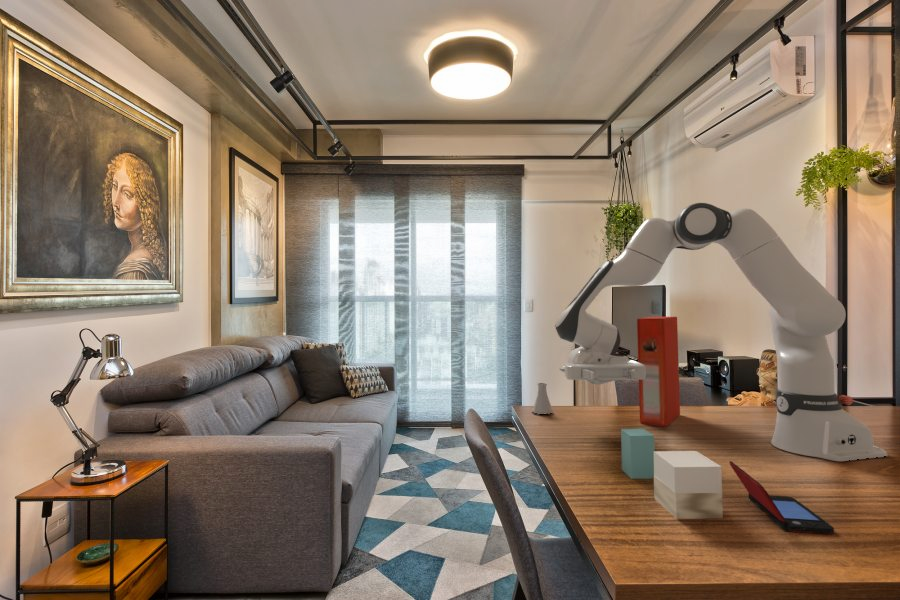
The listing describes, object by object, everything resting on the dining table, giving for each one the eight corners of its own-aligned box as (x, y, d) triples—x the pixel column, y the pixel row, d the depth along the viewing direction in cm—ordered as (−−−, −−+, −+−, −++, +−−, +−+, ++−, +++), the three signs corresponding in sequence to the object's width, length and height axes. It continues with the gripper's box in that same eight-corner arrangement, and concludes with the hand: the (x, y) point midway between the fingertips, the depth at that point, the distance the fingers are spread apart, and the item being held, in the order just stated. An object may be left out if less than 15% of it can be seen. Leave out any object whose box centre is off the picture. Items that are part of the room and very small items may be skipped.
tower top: (696, 474, 84) (696, 450, 84) (722, 492, 76) (721, 466, 76) (654, 475, 84) (653, 451, 84) (674, 493, 76) (674, 467, 76)
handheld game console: (838, 537, 69) (837, 489, 70) (761, 531, 72) (760, 485, 72) (792, 502, 82) (791, 461, 82) (728, 498, 84) (727, 458, 84)
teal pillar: (644, 469, 98) (643, 428, 98) (654, 478, 93) (654, 435, 93) (621, 469, 98) (621, 429, 98) (631, 478, 93) (630, 435, 93)
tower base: (696, 498, 84) (695, 474, 84) (722, 519, 76) (722, 492, 76) (654, 499, 84) (653, 475, 84) (676, 520, 76) (675, 493, 76)
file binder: (638, 422, 135) (636, 318, 136) (653, 411, 149) (651, 316, 149) (667, 427, 130) (665, 318, 131) (680, 415, 144) (678, 316, 144)
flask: (553, 416, 145) (553, 385, 145) (531, 415, 147) (531, 385, 147) (553, 410, 152) (552, 381, 152) (531, 410, 154) (531, 381, 154)
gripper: (557, 356, 122) (571, 363, 108) (631, 355, 122) (655, 362, 108) (557, 379, 122) (572, 389, 108) (632, 378, 122) (655, 388, 108)
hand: (614, 376), depth 108 cm, fingers open, 8 cm apart
